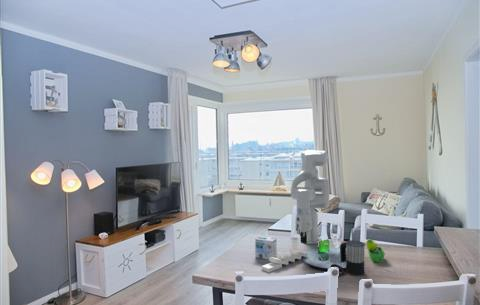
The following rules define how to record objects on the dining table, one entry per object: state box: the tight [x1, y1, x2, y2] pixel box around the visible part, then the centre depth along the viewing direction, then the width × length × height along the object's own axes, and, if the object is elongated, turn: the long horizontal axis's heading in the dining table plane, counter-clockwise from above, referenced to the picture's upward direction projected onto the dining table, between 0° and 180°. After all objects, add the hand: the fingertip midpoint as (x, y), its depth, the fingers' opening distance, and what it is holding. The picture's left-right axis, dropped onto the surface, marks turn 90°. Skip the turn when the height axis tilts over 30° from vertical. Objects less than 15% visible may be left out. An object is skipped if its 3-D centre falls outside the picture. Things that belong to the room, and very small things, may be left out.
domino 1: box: [261, 262, 283, 273], centre depth 174 cm, size 2×5×10 cm
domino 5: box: [289, 248, 308, 258], centre depth 189 cm, size 2×5×10 cm
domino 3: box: [275, 252, 296, 263], centre depth 181 cm, size 2×5×10 cm
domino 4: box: [282, 251, 302, 260], centre depth 185 cm, size 2×5×10 cm
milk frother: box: [330, 239, 366, 276], centre depth 167 cm, size 14×16×15 cm
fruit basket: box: [365, 238, 386, 263], centre depth 186 cm, size 11×9×11 cm
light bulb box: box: [254, 235, 277, 261], centre depth 191 cm, size 11×7×11 cm, turn 62°
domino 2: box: [268, 257, 290, 266], centre depth 178 cm, size 2×5×10 cm
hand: (303, 242), depth 191 cm, fingers closed
